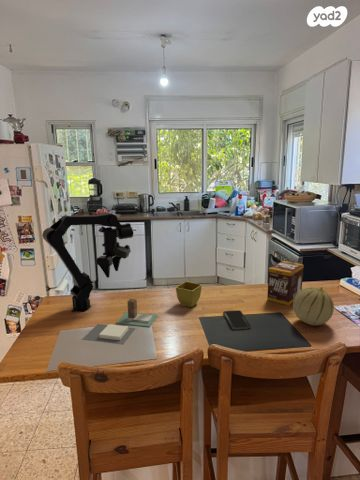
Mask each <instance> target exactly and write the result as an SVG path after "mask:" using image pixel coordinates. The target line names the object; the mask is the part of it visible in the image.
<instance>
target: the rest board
mask: <svg viewBox="0 0 360 480" xmlns="http://www.w3.org/2000/svg"><path fill="white" fill-rule="evenodd" d="M137 314H142V315H152V319H151V320H150V321H149V323H145V322H135V321H127V318H128V311H125V312H124V313H123V315H121V317H120V318H118V320H117V321H116V322H115V323H116V324H115V325H123V326H134V327H136V326H137V327H145V328H150V327H151V326H152V324H154V322H155V320H156V319H157V318H158V314H151V313H143V312H137Z"/></svg>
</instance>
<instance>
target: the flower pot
mask: <svg viewBox="0 0 360 480" xmlns="http://www.w3.org/2000/svg"><path fill="white" fill-rule="evenodd" d="M202 286H203V285H202V284H200V283H197V282H196V283H195V282H191V281H184V282H182V283H181V284H179V285H177V286H176V287H175V292H176V297H177V300H178V302H179V304H181V306H184V307H188V308H192V307H193V306H195V305H196V304H197V303H198V302H199V299H200V298H201V293H202Z"/></svg>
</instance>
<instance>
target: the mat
mask: <svg viewBox="0 0 360 480" xmlns="http://www.w3.org/2000/svg"><path fill="white" fill-rule="evenodd" d="M108 325H109V324H99V323H97V324H96V325H95V326H94V327H93V328H91V330H89V331H88V333H87V334H86V335H85V336H84V337H83V338H82V339H81V340H84V341H90V342H91V341H92V342H99V343H101V342H102V343H106V344H107V343H108V344H116V345H124V344H125V343H126V341H127V340H128V339H129V338H130V337H131V335H132V334H133V333H134V331H135V330H136V329H137V328H136V327H129V326H128V328H129V330H128V331H127V332H126V333H125V335H124V336H123V337H122V338H121V340H111V339H103V338H99V334H100V333H101V332H102V331H103V330H104V329H105V328H106V327H107V326H108Z"/></svg>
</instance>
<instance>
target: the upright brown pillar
mask: <svg viewBox="0 0 360 480" xmlns="http://www.w3.org/2000/svg"><path fill="white" fill-rule="evenodd" d="M126 302H127V312H128V318H127V321H135V322H145V323H149V321H150V320H151V319H152V315H142V314H137V313H138V305H137V304H138V301H137V298H129V299H128V300H127V301H126Z"/></svg>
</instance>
